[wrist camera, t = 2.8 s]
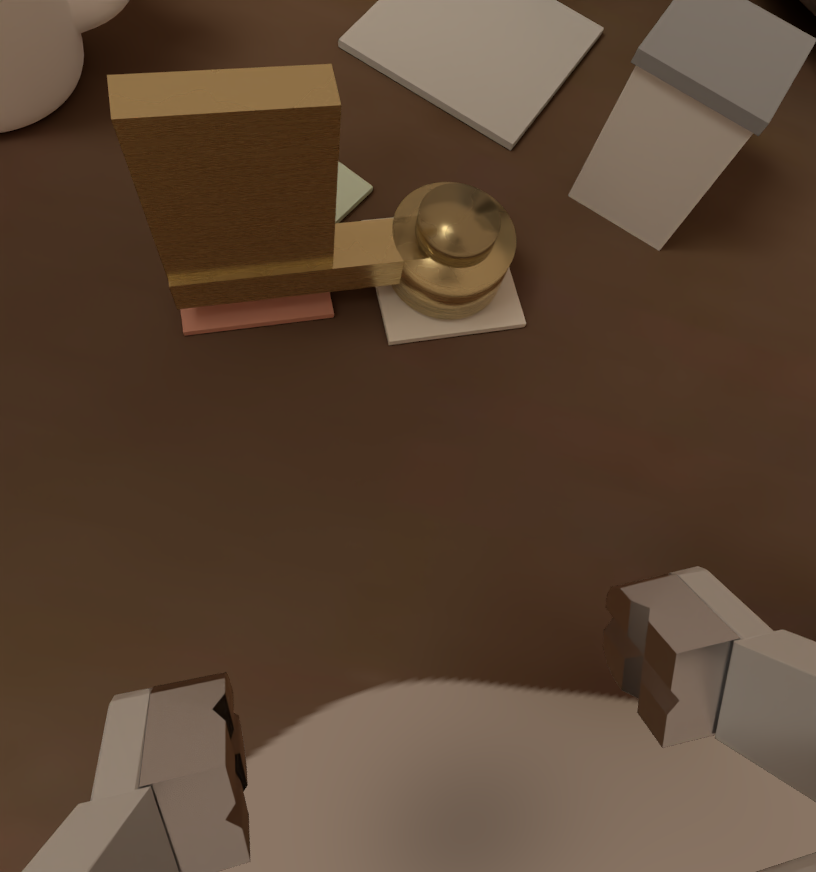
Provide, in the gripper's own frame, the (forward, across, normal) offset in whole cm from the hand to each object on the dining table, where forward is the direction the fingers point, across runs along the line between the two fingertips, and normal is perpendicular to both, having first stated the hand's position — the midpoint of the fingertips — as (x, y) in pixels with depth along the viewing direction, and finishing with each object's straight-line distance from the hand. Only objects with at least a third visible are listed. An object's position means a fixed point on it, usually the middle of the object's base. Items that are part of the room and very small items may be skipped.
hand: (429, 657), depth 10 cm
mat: (+30, -12, -10) cm, 34 cm away
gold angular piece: (+21, -2, -1) cm, 21 cm away
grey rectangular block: (+24, -17, -3) cm, 29 cm away
